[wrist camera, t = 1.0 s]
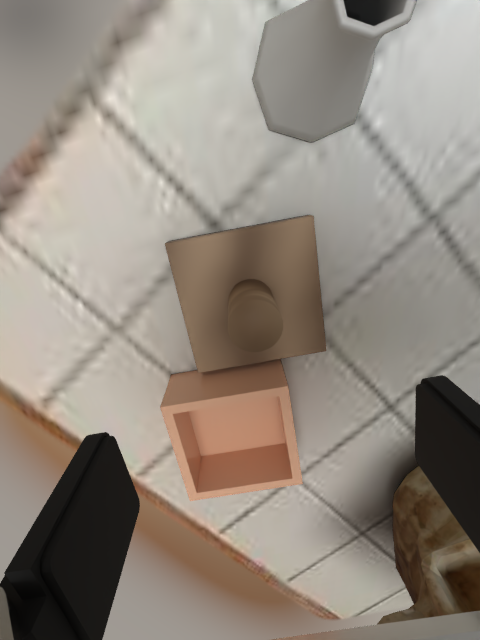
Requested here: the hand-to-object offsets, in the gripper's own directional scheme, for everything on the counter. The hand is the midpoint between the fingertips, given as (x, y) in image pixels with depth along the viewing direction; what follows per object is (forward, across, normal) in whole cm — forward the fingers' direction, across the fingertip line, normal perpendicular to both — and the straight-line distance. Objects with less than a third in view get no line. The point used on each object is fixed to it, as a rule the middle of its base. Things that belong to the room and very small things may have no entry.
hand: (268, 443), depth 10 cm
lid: (+16, 0, 0) cm, 16 cm away
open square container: (+16, +3, +10) cm, 19 cm away
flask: (+16, -6, -13) cm, 22 cm away
